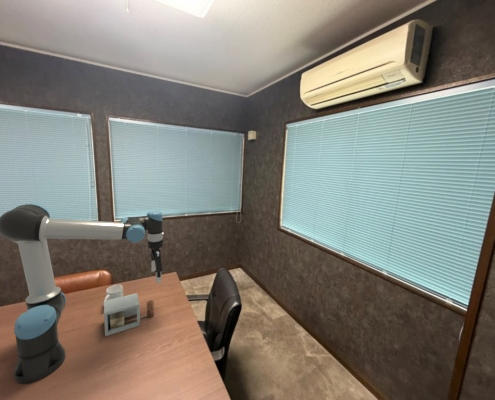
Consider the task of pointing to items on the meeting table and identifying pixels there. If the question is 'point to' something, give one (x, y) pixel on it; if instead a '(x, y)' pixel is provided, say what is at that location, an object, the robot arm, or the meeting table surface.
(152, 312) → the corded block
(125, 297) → the box
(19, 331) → the robot arm
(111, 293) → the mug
